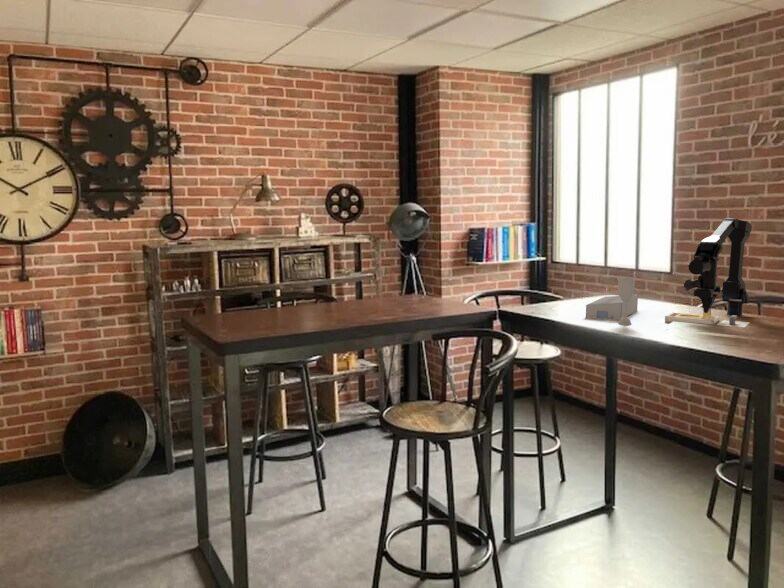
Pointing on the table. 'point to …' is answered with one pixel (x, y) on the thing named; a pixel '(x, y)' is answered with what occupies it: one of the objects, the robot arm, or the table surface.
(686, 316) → the tan notched block
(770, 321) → the table surface
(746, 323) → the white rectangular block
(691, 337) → the table surface
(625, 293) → the chalice
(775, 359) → the table surface
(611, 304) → the warehouse
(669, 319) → the tray
